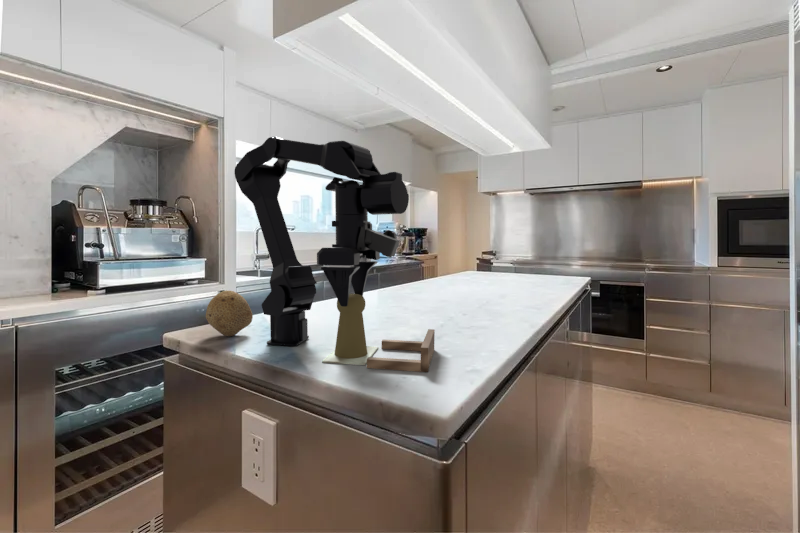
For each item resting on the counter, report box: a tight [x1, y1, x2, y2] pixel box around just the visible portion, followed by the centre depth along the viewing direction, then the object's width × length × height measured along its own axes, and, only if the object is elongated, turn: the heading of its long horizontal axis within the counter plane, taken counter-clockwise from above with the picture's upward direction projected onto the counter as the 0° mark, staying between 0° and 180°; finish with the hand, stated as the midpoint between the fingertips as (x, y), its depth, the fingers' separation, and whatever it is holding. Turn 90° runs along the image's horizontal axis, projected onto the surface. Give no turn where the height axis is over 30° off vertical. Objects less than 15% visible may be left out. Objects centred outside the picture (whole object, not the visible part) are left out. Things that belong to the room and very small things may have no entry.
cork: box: [334, 293, 368, 359], centre depth 70 cm, size 6×6×11 cm
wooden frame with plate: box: [321, 328, 436, 373], centre depth 69 cm, size 18×12×4 cm
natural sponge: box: [205, 290, 254, 337], centre depth 83 cm, size 9×9×10 cm
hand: (352, 301), depth 69 cm, fingers open, 9 cm apart
